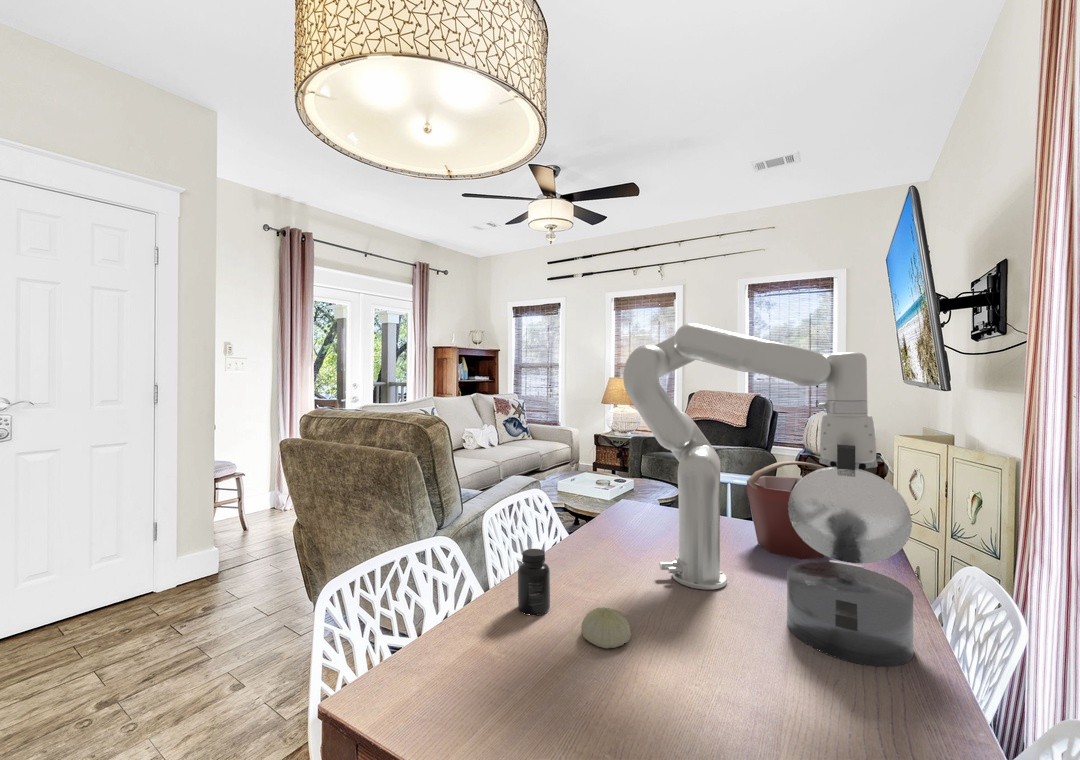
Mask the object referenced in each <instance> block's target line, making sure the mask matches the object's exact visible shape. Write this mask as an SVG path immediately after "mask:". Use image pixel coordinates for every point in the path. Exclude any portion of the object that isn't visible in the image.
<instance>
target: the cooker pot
mask: <svg viewBox="0 0 1080 760" xmlns="http://www.w3.org/2000/svg"><path fill="white" fill-rule="evenodd" d="M786 571H787V572H786V616H787V617H786V623H787V627H788V629H789V630H790V632H791V633H792V634H793V635H794V636H795V637H796V638H797V637H798V638H797V639H799V640H800V641H801V642H803V643H804V642H805V643H804V644H805V645H807V644H808V645H807V646H809V645H810V646H809V647H811V646H812V647H813V649H814V648H816V649H818V650H820V651H819V652H821V651H822V652H821V653H823V652H824V653H823V654H825V653H827V654H826V655H827V656H830V655H831V657H833V658H836V659H839V660H842V661H845V660H846V661H845V662H849V661H851V662H850V663H853V662H854V663H853V664H858V663H859V664H860V665H863V664H865V665H864V666H869V665H871V666H870V667H880V666H886V667H887V668H888V666H890V667H898V666H902V665H905V664H907V663H909V662H910V661H911V660H912V659H913V657H914V594H913V593H912V591H911V590H910V589H909V588H908V587H907V586H906V585H904V584H902V583H901V582H899V581H897V580H895V579H894V578H891V577H889V576H886V575H885V574H882V573H879V572H876V571H873V570H870V569H866V568H865V566H864V565H862V564H861V565H860V564H857V563H849V562H843V561H839V560H833V559H829V562H828V561H805V562H804V561H803V562H799V563H795V564H793V565H790V566H789V567H788V568H787V570H786ZM812 647H811V648H812ZM816 649H815V650H816ZM818 650H817V651H818Z"/></svg>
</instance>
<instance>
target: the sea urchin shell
mask: <svg viewBox="0 0 1080 760" xmlns="http://www.w3.org/2000/svg"><path fill="white" fill-rule="evenodd" d="M580 631H581V635H582V636H583V639H585V640H587V642H589V643H590V644H593V645H594V646H596V647H599V648H603V649H615V648H618V647H622V646H623V645H625V644H626V643H628V641H630V639H631V636H632V633H631V632H632V631H631V626H630V623H629V621H628V620H627V618H626V617H625V616H624V615H623V614H622V613H621V612H620V611H619V610H615V609H613V608H610V607H595V608H593V609H591V610H590V611H588V612H587V614H586V615H585V616H584V617H583V619H582V621H581V628H580ZM624 643H625V644H624Z"/></svg>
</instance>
